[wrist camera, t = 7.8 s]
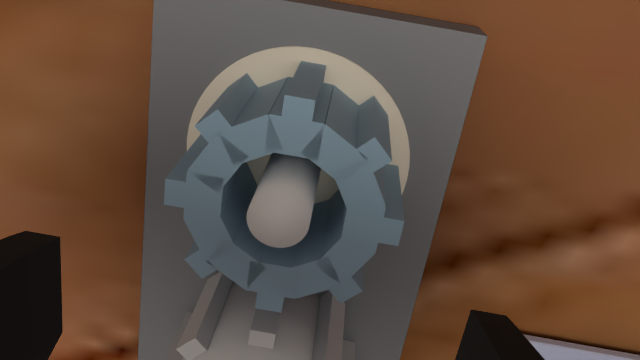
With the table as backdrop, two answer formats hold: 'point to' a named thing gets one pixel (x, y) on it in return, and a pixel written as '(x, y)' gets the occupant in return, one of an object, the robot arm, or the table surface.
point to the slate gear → (327, 216)
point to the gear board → (297, 170)
